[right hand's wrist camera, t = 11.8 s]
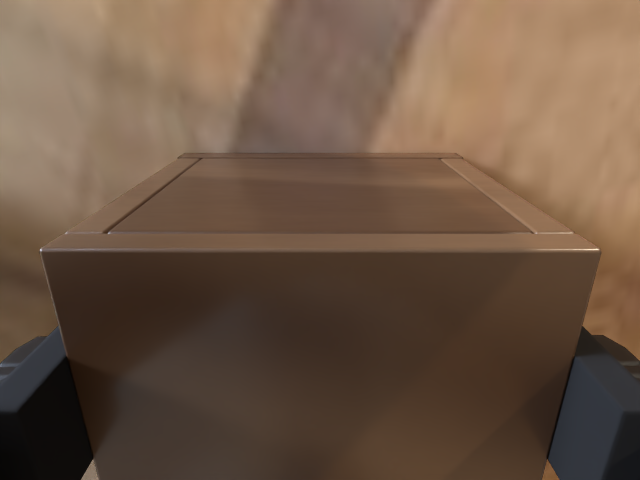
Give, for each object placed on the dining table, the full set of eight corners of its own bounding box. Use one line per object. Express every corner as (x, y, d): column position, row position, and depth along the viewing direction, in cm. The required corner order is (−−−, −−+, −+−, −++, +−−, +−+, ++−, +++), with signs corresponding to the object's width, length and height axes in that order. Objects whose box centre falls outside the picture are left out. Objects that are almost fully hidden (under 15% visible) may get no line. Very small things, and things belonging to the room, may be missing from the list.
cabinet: (417, 484, 22) (476, 735, 14) (222, 484, 22) (163, 734, 14) (456, 153, 16) (605, 248, 8) (184, 153, 16) (35, 248, 8)
